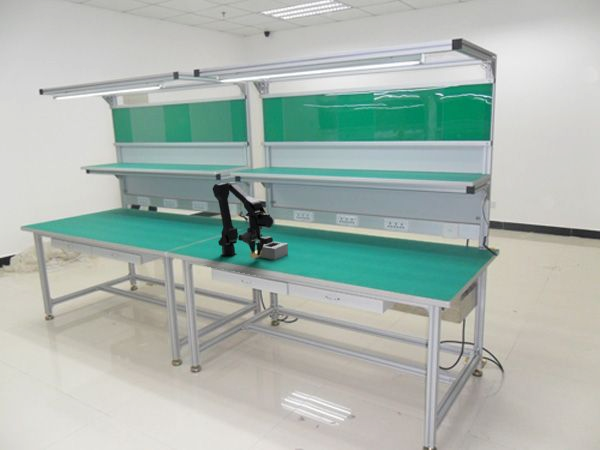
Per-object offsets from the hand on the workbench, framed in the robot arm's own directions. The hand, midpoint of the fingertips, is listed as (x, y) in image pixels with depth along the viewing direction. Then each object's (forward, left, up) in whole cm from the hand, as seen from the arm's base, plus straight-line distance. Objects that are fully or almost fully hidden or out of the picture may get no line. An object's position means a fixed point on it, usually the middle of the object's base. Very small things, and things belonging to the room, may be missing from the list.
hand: (256, 254), depth 239 cm
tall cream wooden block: (0, 0, -1) cm, 1 cm away
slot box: (+1, +13, -4) cm, 14 cm away
